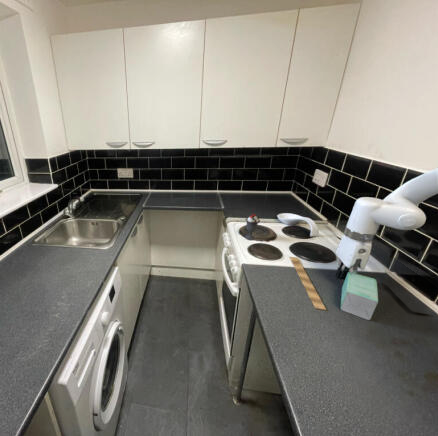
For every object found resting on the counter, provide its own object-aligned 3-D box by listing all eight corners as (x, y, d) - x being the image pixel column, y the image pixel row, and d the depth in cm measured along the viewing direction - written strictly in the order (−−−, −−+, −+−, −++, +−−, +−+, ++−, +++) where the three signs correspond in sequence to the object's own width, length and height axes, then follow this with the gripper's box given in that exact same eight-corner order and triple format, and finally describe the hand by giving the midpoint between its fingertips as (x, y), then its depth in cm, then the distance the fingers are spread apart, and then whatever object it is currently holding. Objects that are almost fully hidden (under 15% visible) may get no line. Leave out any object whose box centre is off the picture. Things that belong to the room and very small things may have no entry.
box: (369, 295, 78) (377, 278, 75) (370, 321, 69) (379, 302, 66) (341, 286, 83) (348, 269, 80) (339, 310, 73) (346, 291, 70)
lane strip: (289, 257, 100) (289, 256, 100) (297, 258, 100) (297, 257, 99) (315, 308, 74) (315, 307, 74) (326, 310, 73) (326, 309, 73)
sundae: (244, 240, 115) (248, 213, 109) (241, 234, 121) (245, 208, 115) (258, 241, 114) (263, 213, 107) (254, 235, 120) (259, 208, 113)
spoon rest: (271, 219, 136) (274, 208, 133) (288, 217, 138) (291, 206, 135) (305, 238, 115) (308, 225, 112) (324, 235, 117) (328, 222, 114)
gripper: (386, 247, 69) (364, 293, 77) (360, 225, 82) (343, 267, 90) (356, 244, 71) (337, 290, 79) (335, 223, 84) (321, 264, 92)
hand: (340, 277), depth 84 cm, fingers closed
